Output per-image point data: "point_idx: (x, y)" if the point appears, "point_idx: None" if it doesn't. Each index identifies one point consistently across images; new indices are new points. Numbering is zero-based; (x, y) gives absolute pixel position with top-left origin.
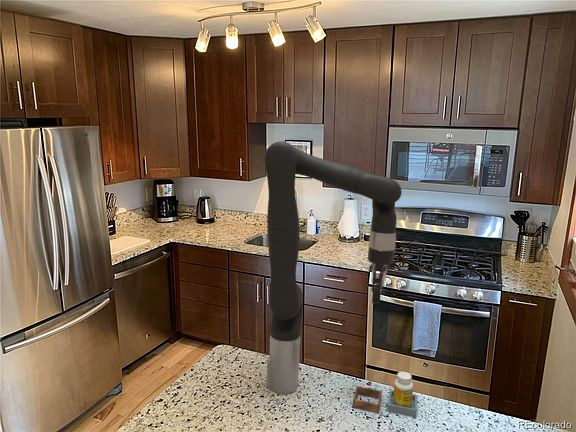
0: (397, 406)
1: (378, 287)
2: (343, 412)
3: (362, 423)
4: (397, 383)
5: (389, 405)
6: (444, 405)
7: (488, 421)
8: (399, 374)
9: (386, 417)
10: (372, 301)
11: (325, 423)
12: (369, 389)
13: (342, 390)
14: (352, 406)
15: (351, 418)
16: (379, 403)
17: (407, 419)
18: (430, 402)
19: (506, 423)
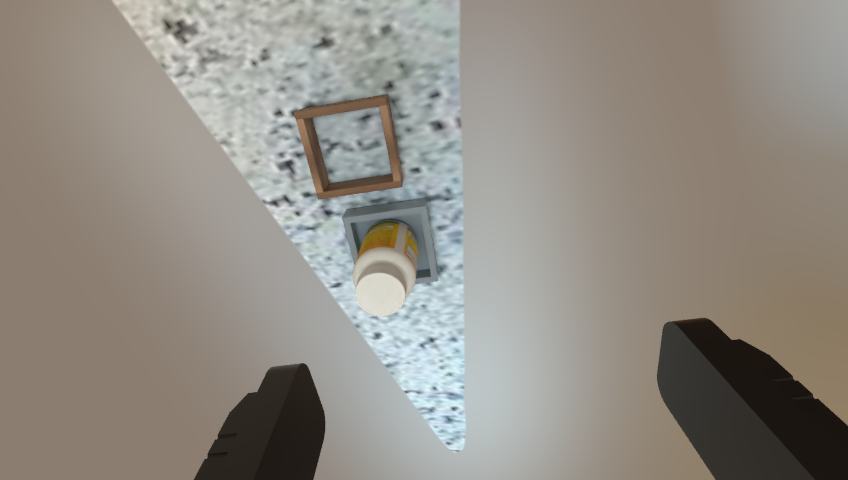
0: (350, 243)
1: (722, 420)
2: (262, 88)
3: (251, 160)
4: (361, 265)
5: (343, 222)
6: (456, 330)
7: (438, 407)
8: (376, 279)
9: (319, 213)
10: (264, 382)
11: (173, 52)
12: (387, 146)
13: (377, 40)
14: (300, 109)
15: (251, 122)
16: (328, 196)
17: (344, 262)
18: (452, 300)
19: (450, 433)
